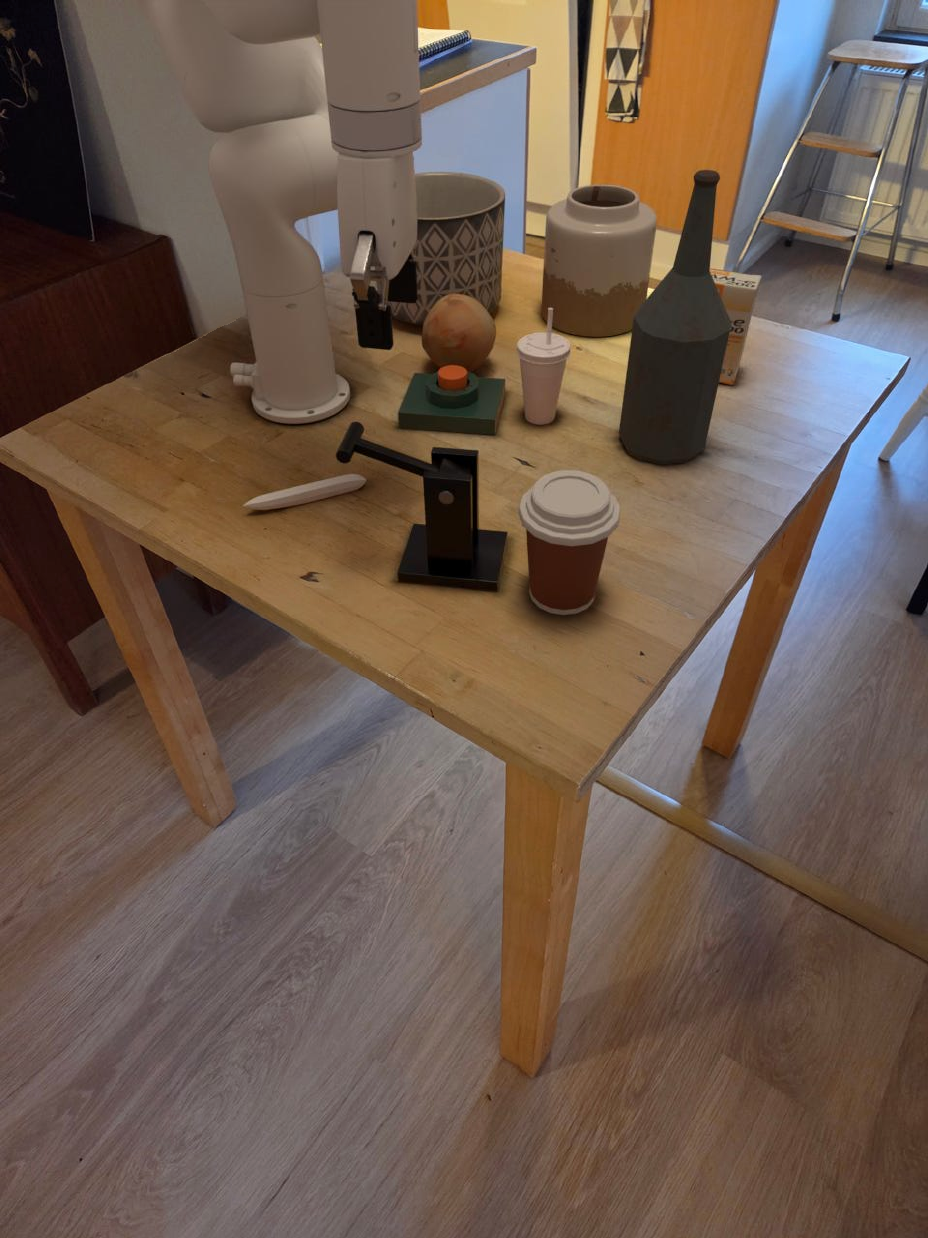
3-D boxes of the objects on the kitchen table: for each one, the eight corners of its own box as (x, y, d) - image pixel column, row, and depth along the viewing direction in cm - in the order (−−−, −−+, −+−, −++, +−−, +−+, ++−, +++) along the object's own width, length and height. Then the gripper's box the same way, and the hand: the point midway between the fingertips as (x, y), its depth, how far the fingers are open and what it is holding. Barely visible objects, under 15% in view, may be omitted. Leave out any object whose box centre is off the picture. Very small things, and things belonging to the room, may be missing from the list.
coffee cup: (559, 550, 87) (567, 450, 79) (628, 592, 83) (644, 492, 74) (496, 591, 83) (497, 491, 75) (565, 639, 78) (575, 537, 70)
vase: (617, 347, 119) (632, 223, 107) (522, 322, 125) (527, 202, 113) (659, 306, 128) (677, 188, 117) (569, 285, 134) (578, 171, 123)
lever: (333, 464, 77) (338, 443, 76) (347, 435, 81) (352, 414, 79) (457, 509, 79) (465, 490, 77) (465, 478, 82) (473, 459, 81)
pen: (243, 511, 93) (240, 498, 92) (364, 480, 97) (363, 468, 96) (246, 519, 92) (243, 506, 91) (368, 488, 96) (367, 475, 95)
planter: (504, 337, 122) (506, 217, 110) (371, 338, 122) (359, 219, 111) (502, 282, 136) (503, 170, 124) (382, 283, 136) (373, 172, 124)
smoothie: (562, 432, 103) (570, 322, 94) (510, 427, 104) (513, 318, 95) (568, 406, 108) (576, 298, 98) (518, 401, 109) (522, 294, 99)
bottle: (653, 411, 107) (695, 149, 86) (720, 441, 101) (782, 170, 81) (601, 444, 101) (633, 173, 81) (669, 477, 96) (721, 197, 75)
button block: (398, 428, 105) (396, 399, 102) (415, 387, 112) (413, 359, 109) (495, 435, 103) (495, 405, 100) (505, 394, 110) (505, 365, 108)
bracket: (397, 581, 84) (388, 483, 76) (414, 532, 90) (407, 435, 82) (497, 591, 83) (499, 492, 75) (507, 540, 89) (510, 443, 80)
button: (435, 391, 104) (435, 378, 103) (441, 376, 107) (440, 363, 105) (464, 393, 104) (464, 380, 102) (469, 378, 106) (469, 365, 105)
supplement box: (671, 376, 113) (688, 278, 104) (678, 360, 116) (695, 264, 107) (734, 387, 111) (756, 288, 102) (739, 370, 114) (762, 273, 105)
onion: (507, 377, 113) (509, 304, 106) (438, 392, 111) (435, 318, 104) (479, 346, 120) (479, 275, 113) (413, 359, 117) (409, 288, 110)
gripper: (360, 94, 76) (375, 282, 88) (297, 155, 64) (325, 363, 76) (442, 98, 75) (445, 288, 87) (394, 161, 63) (406, 371, 75)
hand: (389, 323), depth 82 cm, fingers open, 9 cm apart
